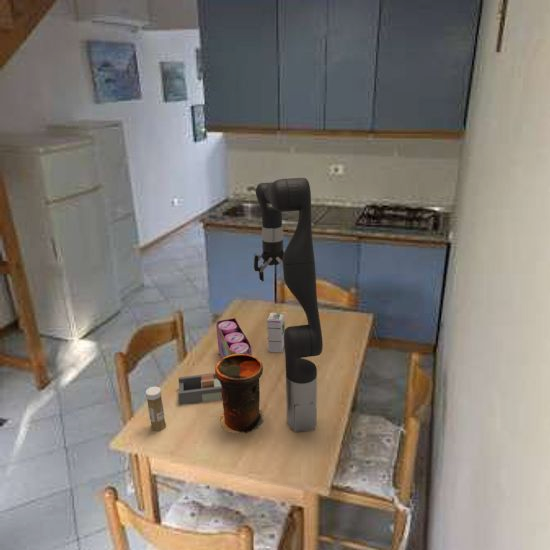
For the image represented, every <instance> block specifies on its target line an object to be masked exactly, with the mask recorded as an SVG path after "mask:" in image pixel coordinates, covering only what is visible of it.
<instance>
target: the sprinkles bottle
mask: <svg viewBox="0 0 550 550" xmlns="http://www.w3.org/2000/svg"><path fill="white" fill-rule="evenodd" d="M145 398H146V401H147V408H148V414H149V420H150V428H151V430H153V431H157V432H159V431H161V430H163V429H164V428H165V427H166V425H167V424H166V419H165V413H164V412H165V411H164V406H163V405H164V404H163V399H162V388H160V387H159V386H150V387H148V388H147V389H146V391H145Z"/></svg>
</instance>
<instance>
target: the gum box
mask: <svg viewBox="0 0 550 550" xmlns="http://www.w3.org/2000/svg"><path fill="white" fill-rule="evenodd" d="M215 326H216V335H217V336H216V337H217V348H218V353H219V356H220V358H221V360H222V359H223V358H224V357H226V356H229V355H233V354H248V355H251V356H253V354H252V352H253V351H252V346H251V343H250V341H249V339H248V337H247V336H246V335H245V333H244V331H243V330H242V327H240V324H239V323H238V320H237V319H236V317H233V318H229V319H228V318H227V319H221V320H217V321H216V325H215Z"/></svg>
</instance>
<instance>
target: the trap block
mask: <svg viewBox="0 0 550 550" xmlns="http://www.w3.org/2000/svg"><path fill="white" fill-rule="evenodd" d="M207 374H208V375H202V374H200V375H201V379H202V389H203V388H211V387H214V378H213V374H211V373H207Z"/></svg>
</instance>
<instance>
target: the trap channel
mask: <svg viewBox="0 0 550 550" xmlns="http://www.w3.org/2000/svg"><path fill="white" fill-rule="evenodd" d="M208 374H209V373H203V374H194V375H187V376H180V377H179V376H178V392H177V393H178V402H179V405H180V406H182V405H190V404H197V403H205V402H214V400H215V401H220V400H221V399H222V393H221V388H222V386H221V384H220V381H219V380H218V379H217V377H216V375H215V372H212V373H210V374H213V378H214V387H211V388H203V389H202V379H201V375H208ZM221 401H222V400H221Z"/></svg>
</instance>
